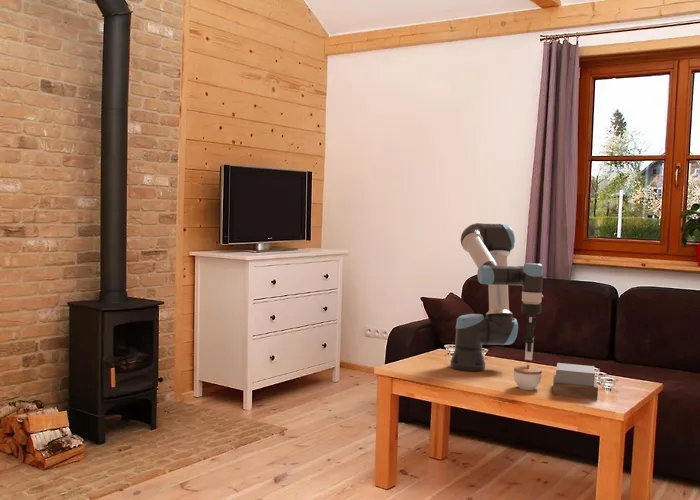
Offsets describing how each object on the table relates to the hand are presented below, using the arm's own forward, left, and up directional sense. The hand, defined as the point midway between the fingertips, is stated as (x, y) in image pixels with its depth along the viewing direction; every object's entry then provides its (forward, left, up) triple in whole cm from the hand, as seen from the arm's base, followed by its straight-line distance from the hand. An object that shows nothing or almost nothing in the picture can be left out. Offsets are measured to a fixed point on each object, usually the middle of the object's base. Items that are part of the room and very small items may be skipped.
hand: (528, 356), depth 289 cm
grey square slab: (-1, +18, -8) cm, 19 cm away
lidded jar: (0, 0, -13) cm, 13 cm away
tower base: (-1, +18, -13) cm, 22 cm away
